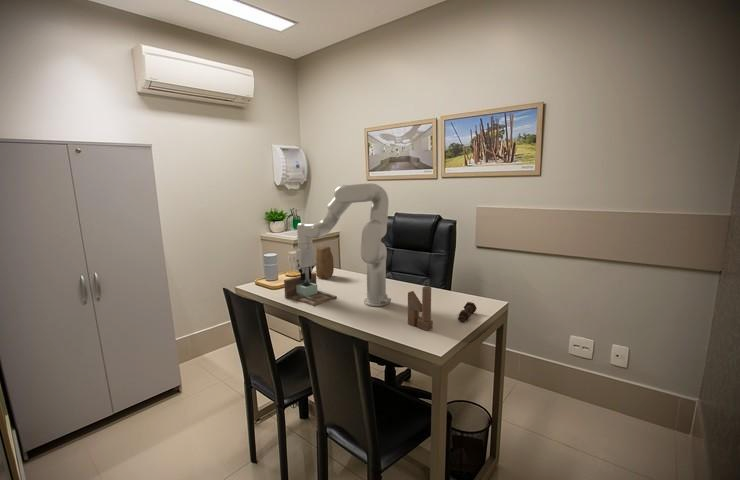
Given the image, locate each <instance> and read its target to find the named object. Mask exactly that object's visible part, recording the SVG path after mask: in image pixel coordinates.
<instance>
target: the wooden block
mask: <svg viewBox="0 0 740 480" xmlns="http://www.w3.org/2000/svg"><path fill="white" fill-rule="evenodd" d="M421 293H422V294H421V297H422V300H421V301H420V298H419V297H418V296H417V294H416V293H415V291H414V290H412V291H408V292H407V325H409V324H410V325H409V326H411V327H415V326H416V327H417V328H418V329H421V330H423V329H424V331H426V330H427V332H428V330H429V331H430V329H431V330H433V327H434V326H433V320H431V319H432V287H431V286H429V285H428V286H427V285H425V286H422V292H421ZM420 313H421V316H420Z"/></svg>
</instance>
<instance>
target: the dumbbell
mask: <svg viewBox="0 0 740 480" xmlns="http://www.w3.org/2000/svg"><path fill="white" fill-rule="evenodd" d="M463 308H464V309H462V310H460V312H459V313H458V317H457V319H458V321H459V323H464V322H466V321H465V320H467V321H468V320H469V319H470V317H471V315H472V314H471V313H473V314H474V313H476V310H477V305H476V304H475V303H474V302H471V301H467V302H466V303H465V305H464V306H463Z"/></svg>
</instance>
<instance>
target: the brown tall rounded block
mask: <svg viewBox="0 0 740 480" xmlns="http://www.w3.org/2000/svg"><path fill="white" fill-rule="evenodd" d="M315 252H316V254H315V263H316V266H315V271H316V272H315V273H316V278H318V279H320V280H325V279H326V280H327V279H330V278H331V277H333V274H334V267H335V266H334V255H333V254H332V251H331V247H330V246H326V245H324V246H320V247H316V251H315Z"/></svg>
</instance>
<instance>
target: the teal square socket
mask: <svg viewBox="0 0 740 480" xmlns="http://www.w3.org/2000/svg"><path fill="white" fill-rule="evenodd" d="M309 284H310V286H307V287H304V286H303V283H302V284H299V285H296V292H297V293H298V294H301V295H304V296H307V297H308V296H311V295H314V294H318V291H319V290H318V284H317V283H316V284H313V283H310V282H309ZM317 290H318V291H317Z"/></svg>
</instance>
